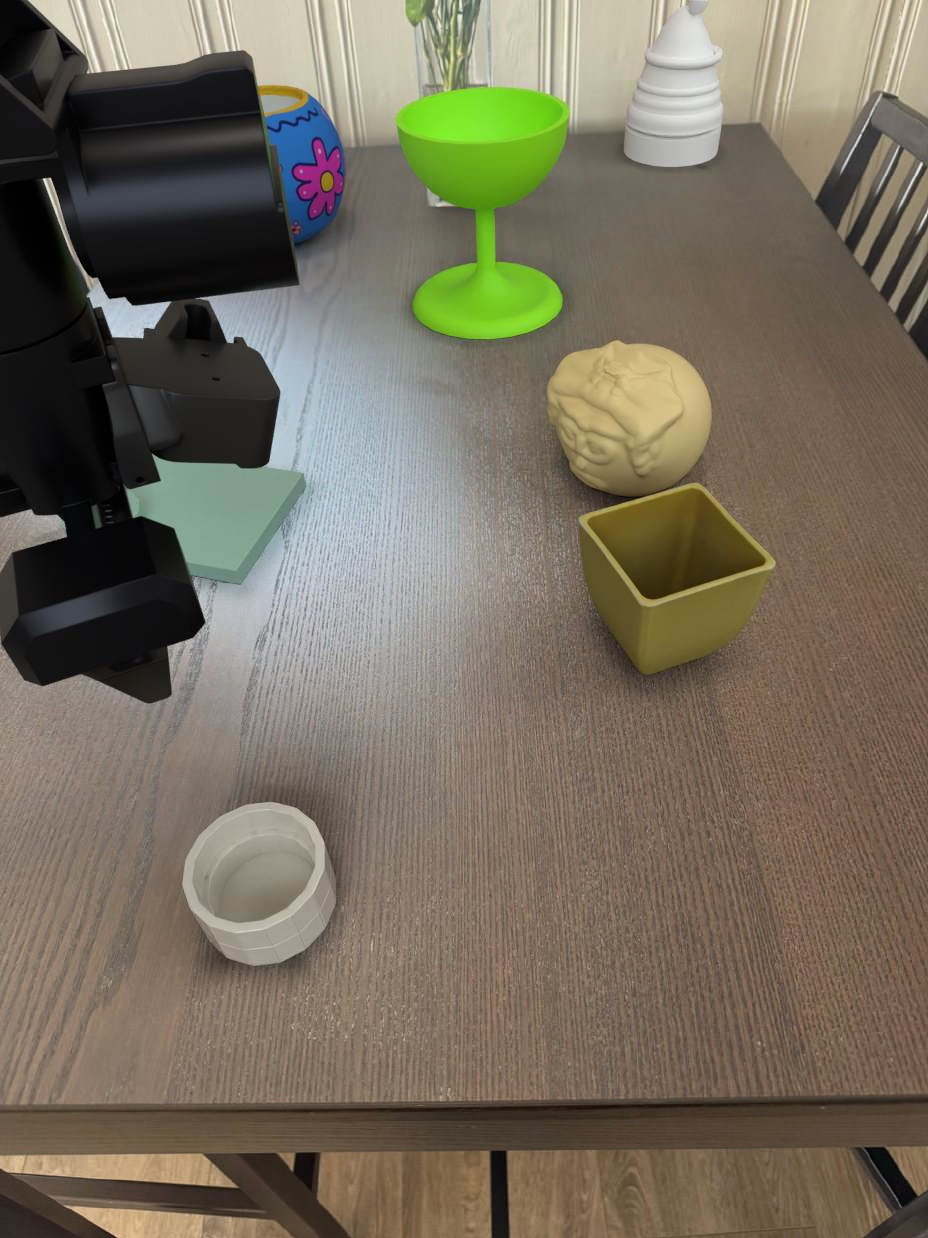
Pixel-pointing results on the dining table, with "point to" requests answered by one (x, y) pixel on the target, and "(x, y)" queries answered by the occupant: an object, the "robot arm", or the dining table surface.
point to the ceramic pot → (305, 157)
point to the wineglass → (484, 200)
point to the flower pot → (672, 575)
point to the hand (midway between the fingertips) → (143, 628)
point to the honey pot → (677, 95)
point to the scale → (218, 512)
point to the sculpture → (629, 416)
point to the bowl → (260, 883)
